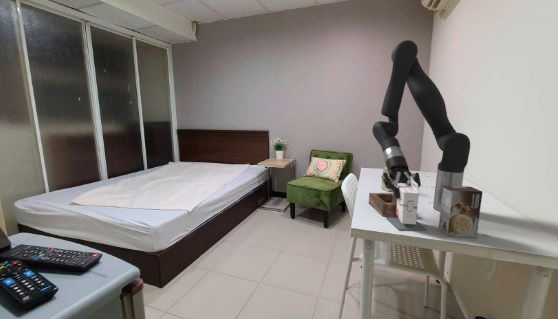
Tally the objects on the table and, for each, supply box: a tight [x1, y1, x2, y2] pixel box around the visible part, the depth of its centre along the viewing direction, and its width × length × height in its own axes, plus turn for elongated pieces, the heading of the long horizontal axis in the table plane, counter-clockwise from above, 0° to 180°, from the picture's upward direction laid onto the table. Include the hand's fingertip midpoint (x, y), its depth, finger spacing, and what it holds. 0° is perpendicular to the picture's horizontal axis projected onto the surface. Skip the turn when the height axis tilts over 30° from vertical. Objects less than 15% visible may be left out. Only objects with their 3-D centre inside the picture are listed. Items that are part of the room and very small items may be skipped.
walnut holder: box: [368, 192, 397, 217], centre depth 106 cm, size 11×15×5 cm
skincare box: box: [380, 166, 393, 193], centre depth 134 cm, size 6×4×12 cm
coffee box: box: [438, 185, 483, 239], centre depth 84 cm, size 9×6×16 cm
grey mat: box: [385, 217, 428, 231], centre depth 92 cm, size 10×10×1 cm
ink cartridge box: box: [396, 178, 419, 224], centre depth 91 cm, size 9×5×15 cm, turn 169°
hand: (407, 197), depth 91 cm, fingers closed on ink cartridge box, 5 cm apart
